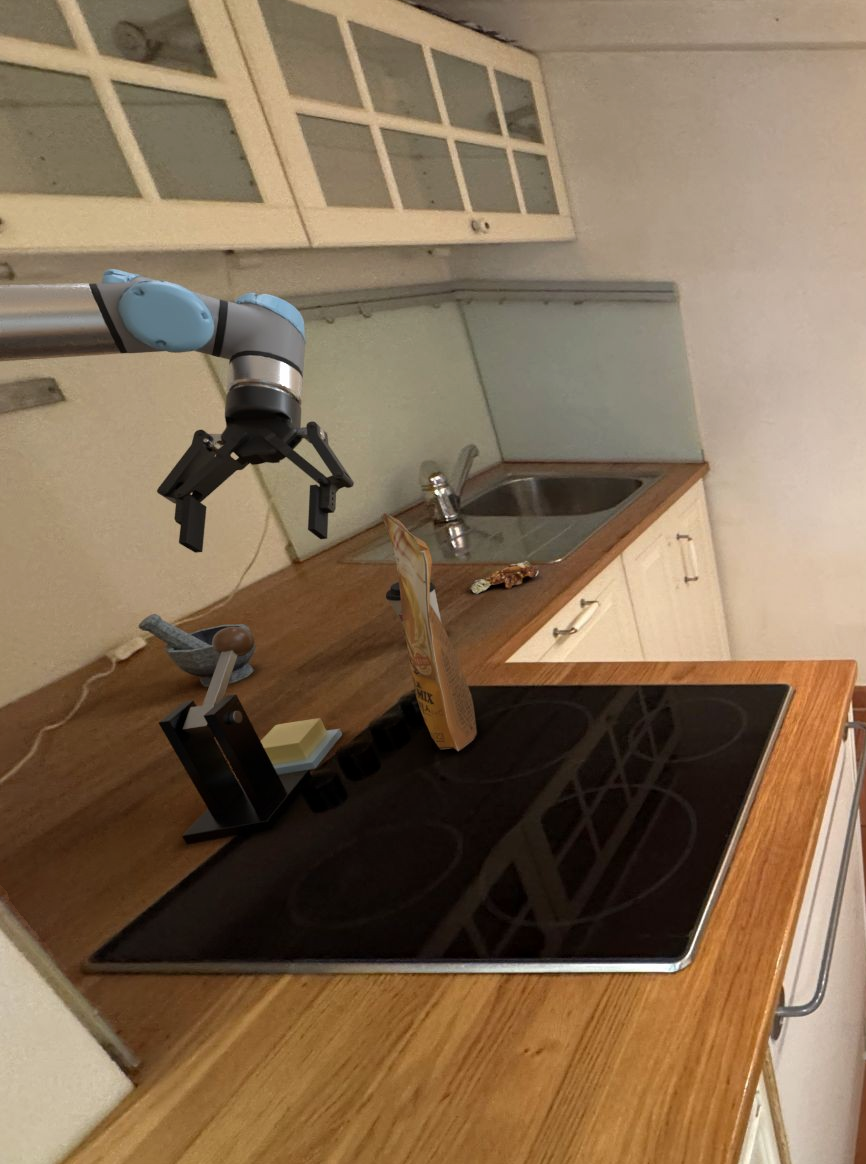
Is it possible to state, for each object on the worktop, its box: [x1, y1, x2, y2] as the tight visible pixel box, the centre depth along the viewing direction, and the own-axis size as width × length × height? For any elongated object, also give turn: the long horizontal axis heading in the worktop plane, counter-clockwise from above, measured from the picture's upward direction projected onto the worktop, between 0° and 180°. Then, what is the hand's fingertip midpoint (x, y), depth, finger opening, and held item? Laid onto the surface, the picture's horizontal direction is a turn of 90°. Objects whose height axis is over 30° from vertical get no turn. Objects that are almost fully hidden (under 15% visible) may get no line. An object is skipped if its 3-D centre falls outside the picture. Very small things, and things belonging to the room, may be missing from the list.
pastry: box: [469, 560, 540, 595], centre depth 150 cm, size 7×12×4 cm, turn 138°
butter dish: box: [260, 717, 343, 775], centre depth 98 cm, size 7×8×4 cm
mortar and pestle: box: [137, 613, 256, 688], centre depth 116 cm, size 11×9×12 cm
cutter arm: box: [183, 627, 255, 740], centre depth 87 cm, size 14×4×4 cm, turn 17°
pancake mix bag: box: [380, 512, 478, 752], centre depth 99 cm, size 7×19×28 cm, turn 38°
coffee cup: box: [385, 581, 442, 628], centre depth 127 cm, size 7×7×10 cm
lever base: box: [158, 694, 313, 845], centre depth 86 cm, size 10×8×14 cm
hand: (255, 541), depth 97 cm, fingers open, 13 cm apart
